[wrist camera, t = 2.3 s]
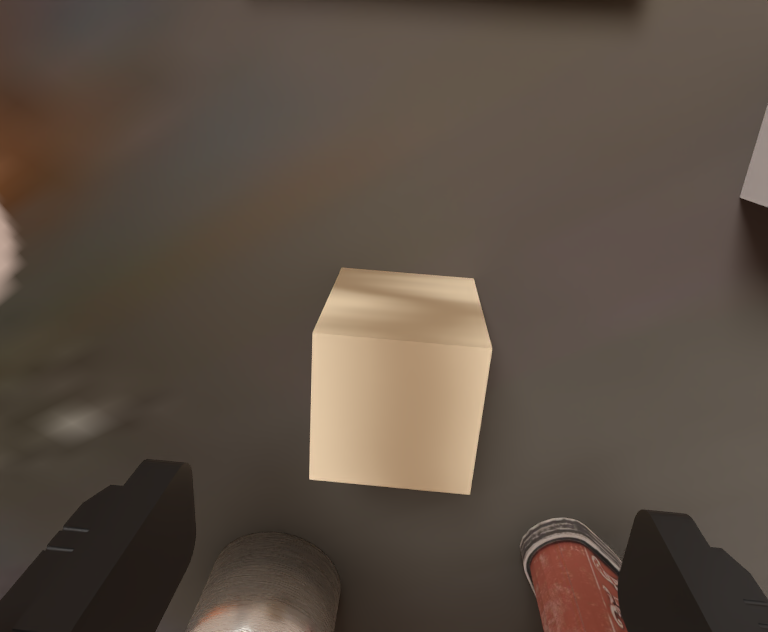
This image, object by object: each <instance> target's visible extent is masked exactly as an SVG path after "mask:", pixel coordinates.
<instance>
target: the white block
mask: <svg viewBox="0 0 768 632" xmlns="http://www.w3.org/2000/svg"><path fill="white" fill-rule="evenodd" d="M740 198H742V199H745V200H748V201H751V202H754V203H757V204H759V205H762V206H765V207H768V105H767V109H766V112H765V115H764V119H763V122H762V125H761V129H760V132H759V135H758V138H757V142H756V145H755V148H754V152H753V155H752V158H751V162H750V165H749V168H748V172H747V175H746V178H745V182H744V185H743V188H742V192H741V195H740Z"/></svg>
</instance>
